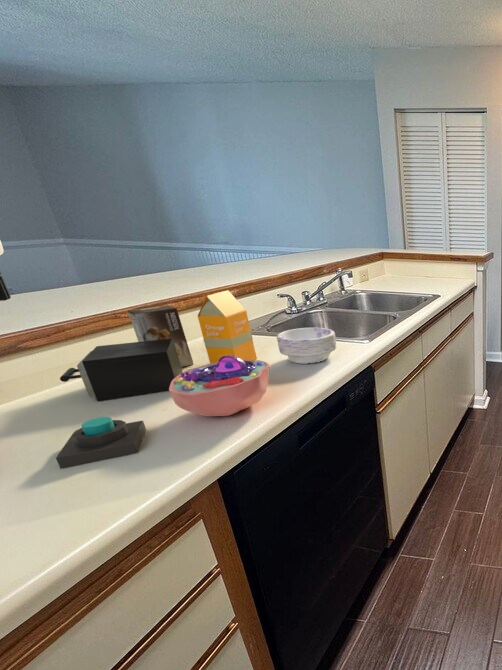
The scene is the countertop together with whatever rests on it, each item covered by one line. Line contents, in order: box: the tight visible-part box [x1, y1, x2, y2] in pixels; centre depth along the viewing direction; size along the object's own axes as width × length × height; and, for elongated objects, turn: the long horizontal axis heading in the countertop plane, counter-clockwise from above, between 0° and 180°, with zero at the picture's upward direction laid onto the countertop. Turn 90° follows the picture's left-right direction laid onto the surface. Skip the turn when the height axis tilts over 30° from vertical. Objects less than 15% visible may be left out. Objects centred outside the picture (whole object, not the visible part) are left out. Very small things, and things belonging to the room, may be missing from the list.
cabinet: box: [81, 338, 184, 402], centre depth 101 cm, size 15×13×10 cm
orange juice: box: [197, 289, 258, 364], centre depth 116 cm, size 8×9×20 cm
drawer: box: [59, 350, 96, 399], centre depth 99 cm, size 18×11×8 cm, turn 122°
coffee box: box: [127, 304, 194, 368], centre depth 113 cm, size 9×6×16 cm
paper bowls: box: [276, 327, 337, 365], centre depth 122 cm, size 15×15×8 cm
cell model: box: [168, 355, 270, 417], centre depth 90 cm, size 17×20×11 cm
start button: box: [80, 416, 115, 435], centre depth 75 cm, size 4×4×2 cm
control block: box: [55, 419, 147, 470], centre depth 76 cm, size 10×10×4 cm
